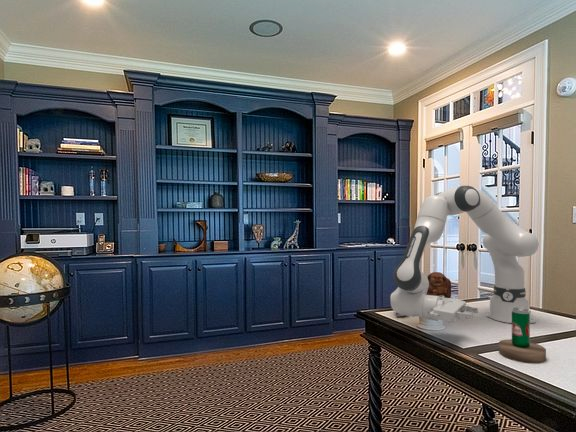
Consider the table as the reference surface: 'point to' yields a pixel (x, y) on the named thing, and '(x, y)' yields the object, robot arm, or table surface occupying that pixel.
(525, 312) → the soda can
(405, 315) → the food container
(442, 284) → the wooden figurine
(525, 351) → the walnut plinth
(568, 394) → the table surface
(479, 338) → the table surface
